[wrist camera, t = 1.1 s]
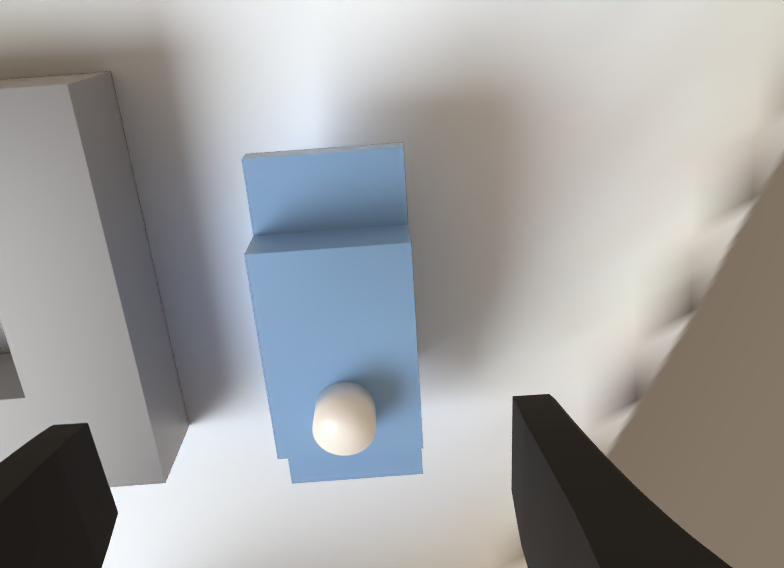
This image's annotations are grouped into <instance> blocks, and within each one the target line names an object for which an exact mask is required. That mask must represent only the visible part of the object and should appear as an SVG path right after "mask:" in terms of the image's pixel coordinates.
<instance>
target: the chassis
mask: <svg viewBox="0 0 784 568" xmlns="http://www.w3.org/2000/svg"><path fill="white" fill-rule="evenodd" d="M0 321H1V324H2V327H3V331H4V334H5V337H6V340H7V343H8V346H9V349H10V352H11V353H2V354H0V462H1V461H3V460H4V459H5V458H7V457H8V456H9V455H11V454H12V453H13V452H15V451H16V450H17V449H19V448H20V447H21V446H23V445H24V444H26V443H27V442H28V441H30V440H31V439H32V438H34V437H35V436H37V435H38V434H40V433H41V432H42V431H44V430H46V429H47V428H49V427H50V426H52V425H58V424H75V423H88V425H89V428H90V431H91V434H92V437H93V440H94V443H95V446H96V449H97V452H98V455H99V457H100V460H101V463H102V466H103V469H104V472H105V475H106V478H107V481H108V484H109V487H117V486H130V485H144V484H157V483H166V480H167V478H168V475H169V473H170V471H171V468H172V466H173V463H174V461H175V458H176V456H177V454H178V451H179V449H180V446H181V444H182V442H183V439H184V437H185V434H186V432H187V430H188V427H189V425H188V421H187V416H186V411H185V407H184V402H183V398H182V393H181V389H180V384H179V380H178V375H177V371H176V366H175V362H174V357H173V352H172V348H171V343H170V339H169V334H168V330H167V325H166V321H165V316H164V312H163V307H162V303H161V298H160V293H159V289H158V284H157V280H156V275H155V271H154V266H153V262H152V257H151V253H150V248H149V244H148V239H147V235H146V230H145V225H144V221H143V216H142V212H141V207H140V203H139V198H138V194H137V189H136V185H135V180H134V176H133V171H132V166H131V162H130V157H129V153H128V148H127V144H126V139H125V135H124V130H123V126H122V121H121V117H120V112H119V107H118V103H117V98H116V94H115V89H114V85H113V80H112V76H111V72H98V73H84V74H70V75H56V76H43V77H29V78H15V79H1V80H0Z"/></svg>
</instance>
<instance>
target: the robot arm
mask: <svg viewBox="0 0 784 568" xmlns="http://www.w3.org/2000/svg"><path fill="white" fill-rule="evenodd" d="M512 495H513V501H514V507H515V512H516V518H517V524H518V529H519V534H520V540H521V545H522V549H523V552H524V556H525V559H526V563H527V566H528V568H732V567H731V566H729V565H728V564H727V563H725V562H724V561H723V560H721V559H720V558H718V556H716V555H715V554H714V553H712V552H711V551H710V550H709V549H707V548H706V547H705V546H703V545H702V544H701V543H700V542H698V541H697V540H696V539H694V538H693V537H692V536H691V535H689V534H688V533H687V532H686V531H685V530H684V529H682V528H681V527H680V526H679V525H678V524H677V523H675V522H674V521H673V520H672V519H671V518H670V517H668V516H667V515H666V514H665V513H664V512H663V511H662V510H661V509H660V508H659V507H657V506H656V505H655V504H654V503H653V502H652V501H651V500H650V499H648V498H647V497H646V496H645V495H644V494H643V493H642V492H641V491H640V490H639V489H638V488H637V487H636V486H635V485H634V484H632V482H631V481H630V480H629V479H628V478H627V477H626V476H625V475H624V474H623V473H622V472H621V471H620V470H619V469H618V468H617V467H616V466H615V465H614V464H613V463H612V462H611V461H610V460H609V459H608V458H607V457H606V456H605V455H604V454H603V453H602V452H601V451H600V450H599V449H598V447H597V446H596V445H595V444H594V443H593V442H592V441H591V440H590V439H589V438H588V436H587V435H586V434H585V433H584V432H583V431H582V430H581V429H580V428H579V426H578V425H577V424H576V423H575V422H574V421H573V420H572V418H571V417H570V416H569V415H568V414H567V413H566V411H565V410H564V409H563V408H562V407H561V405H560V404H559V403H558V402H557V401H556V400H555V399H554V398H553V397H552V396H551V395H550V394H542V395H526V396H513V415H512ZM117 515H118V511H117V508H116V505H115V502H114V499H113V496H112V493H111V490H110V487H109V484H108V481H107V478H106V475H105V472H104V469H103V466H102V463H101V460H100V457H99V455H98V452H97V449H96V446H95V443H94V440H93V437H92V434H91V431H90V428H89V425H88V423H75V424H58V425H52V426H50V427H49V428H47V429H46V430H44V431H42V432H41V433H40V434H38V435H37V436H35V437H34V438H32V439H31V440H30V441H28V442H27V443H26V444H24V445H23V446H21V447H20V448H19V449H17V450H16V451H15V452H13V453H12V454H11V455H9V456H8V457H7V458H5V459H4V460H3V461H1V462H0V568H102V564H103V561H104V558H105V555H106V552H107V549H108V546H109V543H110V539H111V536H112V532H113V529H114V525H115V522H116V518H117Z"/></svg>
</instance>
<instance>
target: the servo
mask: <svg viewBox="0 0 784 568" xmlns="http://www.w3.org/2000/svg"><path fill="white" fill-rule="evenodd" d="M242 164H243V170H244V177H245V183H246V190H247V196H248V203H249V209H250V215H251V222H252V228H253V235H254V236H253V238H252V240H251V242H250V244H249V247H248V249H247V251H246V253H245V261H246V267H247V273H248V279H249V285H250V291H251V297H252V304H253V310H254V316H255V322H256V328H257V334H258V340H259V347H260V353H261V359H262V365H263V371H264V377H265V383H266V390H267V396H268V402H269V408H270V414H271V420H272V427H273V433H274V439H275V445H276V451H277V457H278V459H285V458H288V460H289V467H290V473H291V480H292V483H305V482H318V481H331V480H345V479H358V478H371V477H385V476H398V475H411V474H423V468H422V451H421V448H423V436H422V419H421V402H420V385H419V367H418V350H417V333H416V316H415V298H414V281H413V264H412V246H411V238H410V233H409V227H408V215H407V198H406V181H405V164H404V147H403V143H402V142H401V143H387V144H373V145H360V146H346V147H332V148H318V149H305V150H291V151H277V152H264V153H250V154H245V155H244V157H243V158H242Z"/></svg>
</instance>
